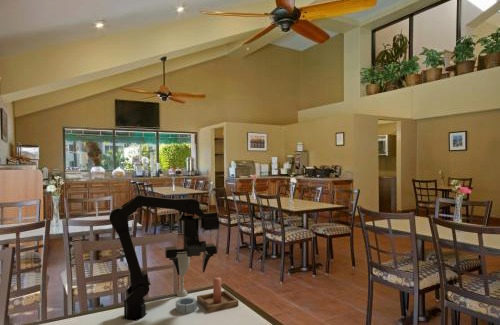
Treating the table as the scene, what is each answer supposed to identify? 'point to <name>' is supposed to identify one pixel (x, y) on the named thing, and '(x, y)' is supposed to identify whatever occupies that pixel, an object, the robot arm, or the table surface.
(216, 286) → the dowel
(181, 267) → the chalice
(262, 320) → the table surface
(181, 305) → the grey hex nut
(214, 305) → the tray
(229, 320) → the table surface
